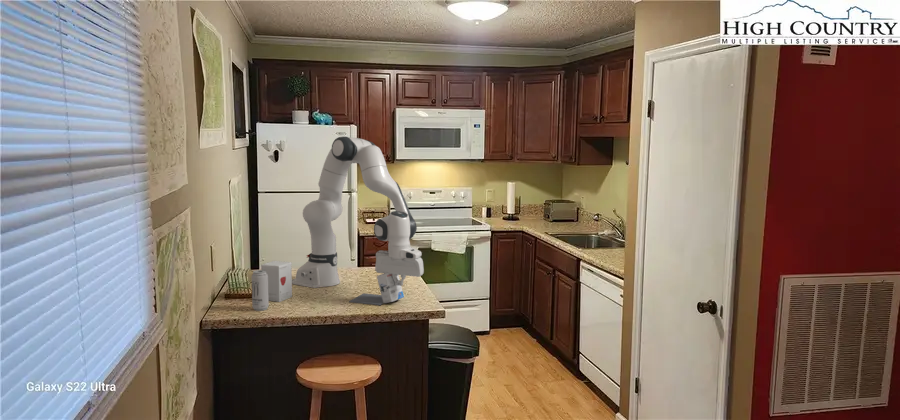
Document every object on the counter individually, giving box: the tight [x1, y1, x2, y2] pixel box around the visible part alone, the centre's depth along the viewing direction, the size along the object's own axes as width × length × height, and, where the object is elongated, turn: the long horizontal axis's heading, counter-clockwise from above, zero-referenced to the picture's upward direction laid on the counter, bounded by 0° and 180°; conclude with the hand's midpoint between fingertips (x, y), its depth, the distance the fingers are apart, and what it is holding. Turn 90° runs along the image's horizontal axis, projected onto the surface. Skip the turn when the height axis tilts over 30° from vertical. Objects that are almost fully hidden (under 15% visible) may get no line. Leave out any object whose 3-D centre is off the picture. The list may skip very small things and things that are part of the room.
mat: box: [348, 292, 384, 307], centre depth 238 cm, size 14×13×1 cm
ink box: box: [376, 273, 405, 304], centre depth 235 cm, size 9×5×12 cm, turn 148°
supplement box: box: [260, 260, 293, 303], centre depth 238 cm, size 9×9×15 cm
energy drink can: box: [251, 269, 270, 312], centre depth 223 cm, size 6×6×15 cm
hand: (399, 285), depth 234 cm, fingers closed
